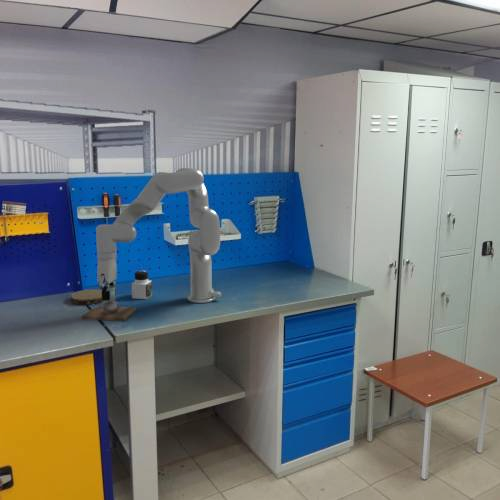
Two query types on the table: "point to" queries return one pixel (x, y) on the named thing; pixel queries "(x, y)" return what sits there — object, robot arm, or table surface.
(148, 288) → the medicine bottle
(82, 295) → the wood slice
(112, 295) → the cap
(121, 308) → the stud board
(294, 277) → the table surface
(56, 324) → the table surface
